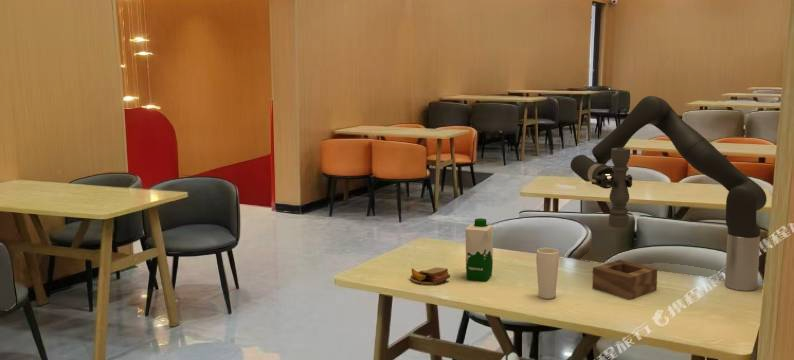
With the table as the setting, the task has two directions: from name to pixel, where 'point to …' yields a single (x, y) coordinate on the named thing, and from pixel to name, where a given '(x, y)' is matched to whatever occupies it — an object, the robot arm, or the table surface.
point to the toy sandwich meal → (430, 276)
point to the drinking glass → (547, 272)
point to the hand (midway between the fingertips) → (623, 184)
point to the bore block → (625, 279)
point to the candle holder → (619, 188)
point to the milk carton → (479, 250)
